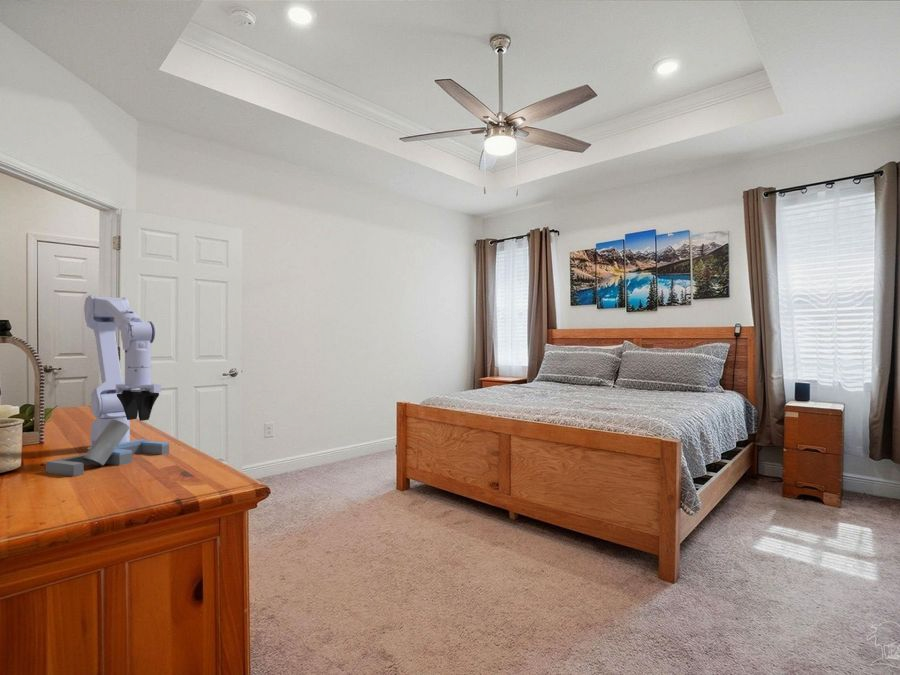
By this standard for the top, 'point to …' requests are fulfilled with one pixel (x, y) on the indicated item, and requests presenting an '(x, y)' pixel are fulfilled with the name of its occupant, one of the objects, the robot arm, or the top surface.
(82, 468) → the grey flat angled piece
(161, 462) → the top surface
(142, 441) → the blue u-shaped bracket
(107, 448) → the grey cylinder
